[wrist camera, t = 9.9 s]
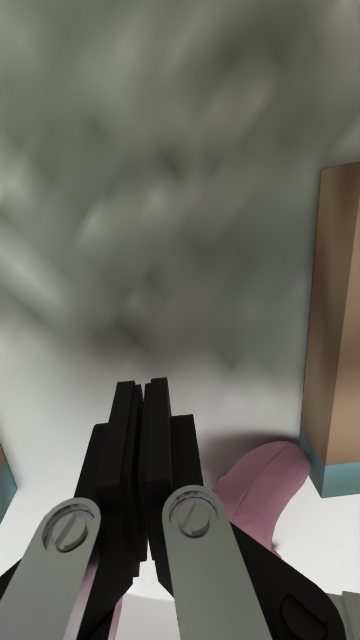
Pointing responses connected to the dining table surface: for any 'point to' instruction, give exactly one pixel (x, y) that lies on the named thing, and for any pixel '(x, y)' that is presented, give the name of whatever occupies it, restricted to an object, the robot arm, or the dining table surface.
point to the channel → (321, 345)
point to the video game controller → (262, 488)
